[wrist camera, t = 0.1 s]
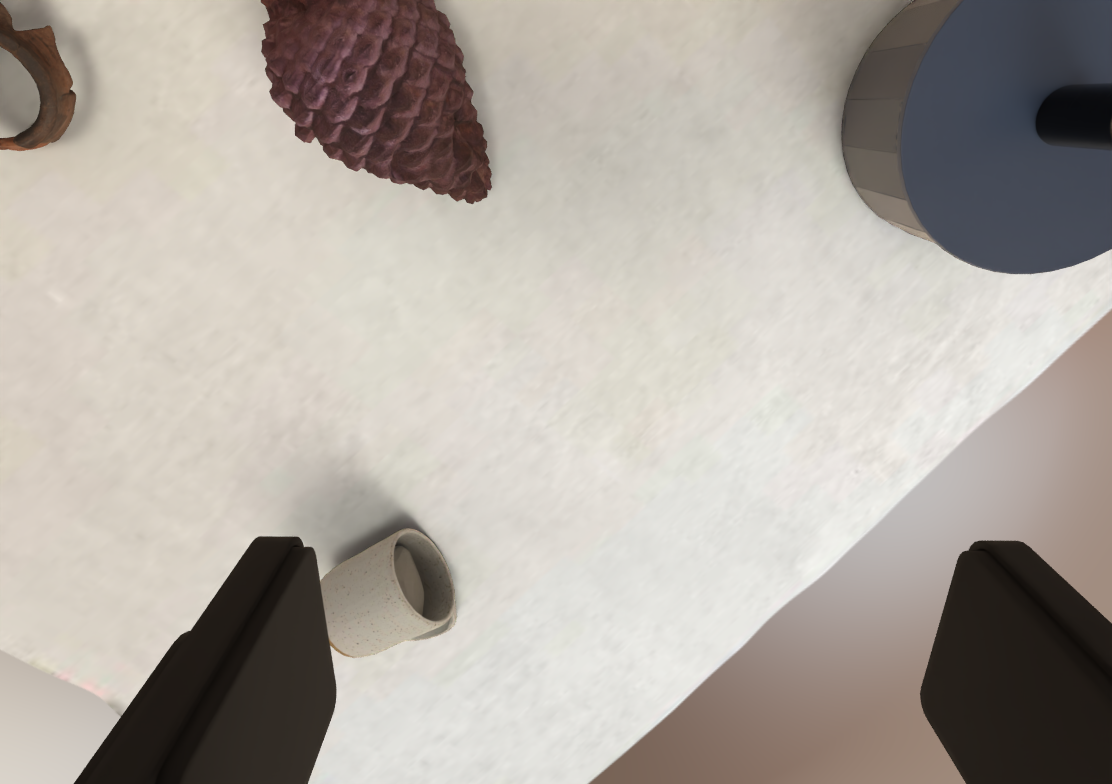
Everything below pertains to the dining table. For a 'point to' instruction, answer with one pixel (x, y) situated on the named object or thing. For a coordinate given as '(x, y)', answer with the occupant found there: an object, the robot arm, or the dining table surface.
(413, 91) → the pine cone
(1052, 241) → the pot lid
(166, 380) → the dining table surface
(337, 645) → the ceramic mug
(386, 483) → the dining table surface
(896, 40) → the pot
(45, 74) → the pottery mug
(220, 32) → the dining table surface
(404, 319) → the dining table surface
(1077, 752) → the robot arm
